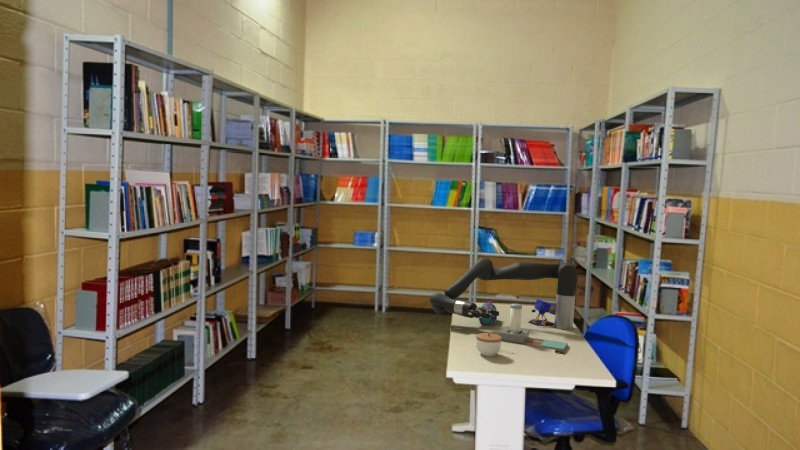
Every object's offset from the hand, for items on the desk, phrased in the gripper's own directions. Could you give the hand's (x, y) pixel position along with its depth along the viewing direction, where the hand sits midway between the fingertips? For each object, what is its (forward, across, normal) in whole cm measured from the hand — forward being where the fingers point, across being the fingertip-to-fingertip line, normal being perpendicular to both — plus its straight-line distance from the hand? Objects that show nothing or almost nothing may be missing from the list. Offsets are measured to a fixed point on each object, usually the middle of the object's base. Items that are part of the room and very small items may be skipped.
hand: (494, 315), depth 269 cm
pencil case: (-15, -21, -11) cm, 28 cm away
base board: (+19, -2, -10) cm, 22 cm away
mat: (+29, -5, -9) cm, 30 cm away
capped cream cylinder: (+11, 0, -9) cm, 14 cm away
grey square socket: (+11, 0, -9) cm, 14 cm away
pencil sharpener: (+6, -44, -11) cm, 46 cm away
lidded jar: (+13, +26, -10) cm, 31 cm away
